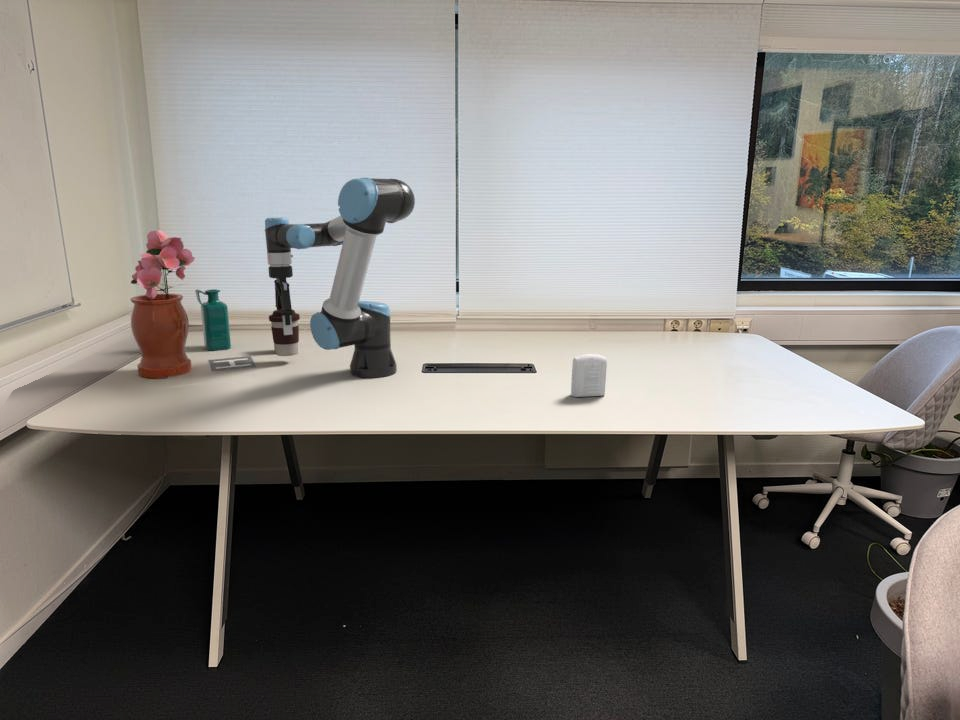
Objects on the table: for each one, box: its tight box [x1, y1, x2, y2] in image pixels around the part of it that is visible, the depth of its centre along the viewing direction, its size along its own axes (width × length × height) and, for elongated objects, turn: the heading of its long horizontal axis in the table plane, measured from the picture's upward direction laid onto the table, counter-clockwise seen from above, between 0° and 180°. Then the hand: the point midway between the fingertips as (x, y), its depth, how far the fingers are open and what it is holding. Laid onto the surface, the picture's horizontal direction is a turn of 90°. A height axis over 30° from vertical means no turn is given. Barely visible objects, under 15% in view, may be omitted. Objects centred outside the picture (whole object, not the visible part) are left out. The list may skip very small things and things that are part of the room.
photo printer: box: [570, 353, 608, 398], centre depth 194 cm, size 10×4×12 cm, turn 103°
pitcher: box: [195, 288, 232, 352], centre depth 244 cm, size 10×8×22 cm
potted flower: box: [130, 229, 195, 379], centre depth 211 cm, size 19×25×45 cm
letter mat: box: [208, 355, 257, 372], centre depth 225 cm, size 16×14×1 cm
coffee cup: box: [268, 309, 301, 357], centre depth 224 cm, size 10×10×15 cm
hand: (285, 331), depth 224 cm, fingers closed on coffee cup, 10 cm apart
